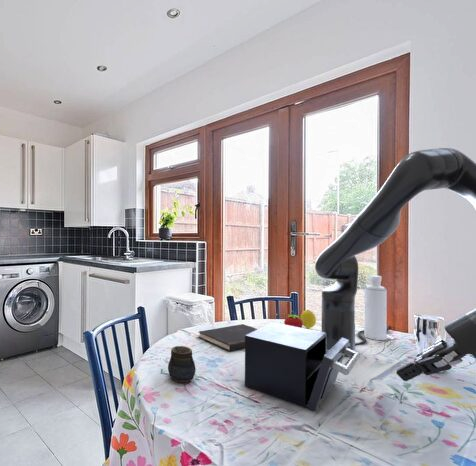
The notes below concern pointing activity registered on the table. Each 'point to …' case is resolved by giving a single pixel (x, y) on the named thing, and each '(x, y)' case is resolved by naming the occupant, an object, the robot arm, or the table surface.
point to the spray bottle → (375, 310)
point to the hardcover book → (227, 336)
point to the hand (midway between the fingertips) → (400, 376)
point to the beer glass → (428, 331)
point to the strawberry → (293, 321)
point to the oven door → (331, 371)
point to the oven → (284, 361)
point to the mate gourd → (181, 364)
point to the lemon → (308, 319)
